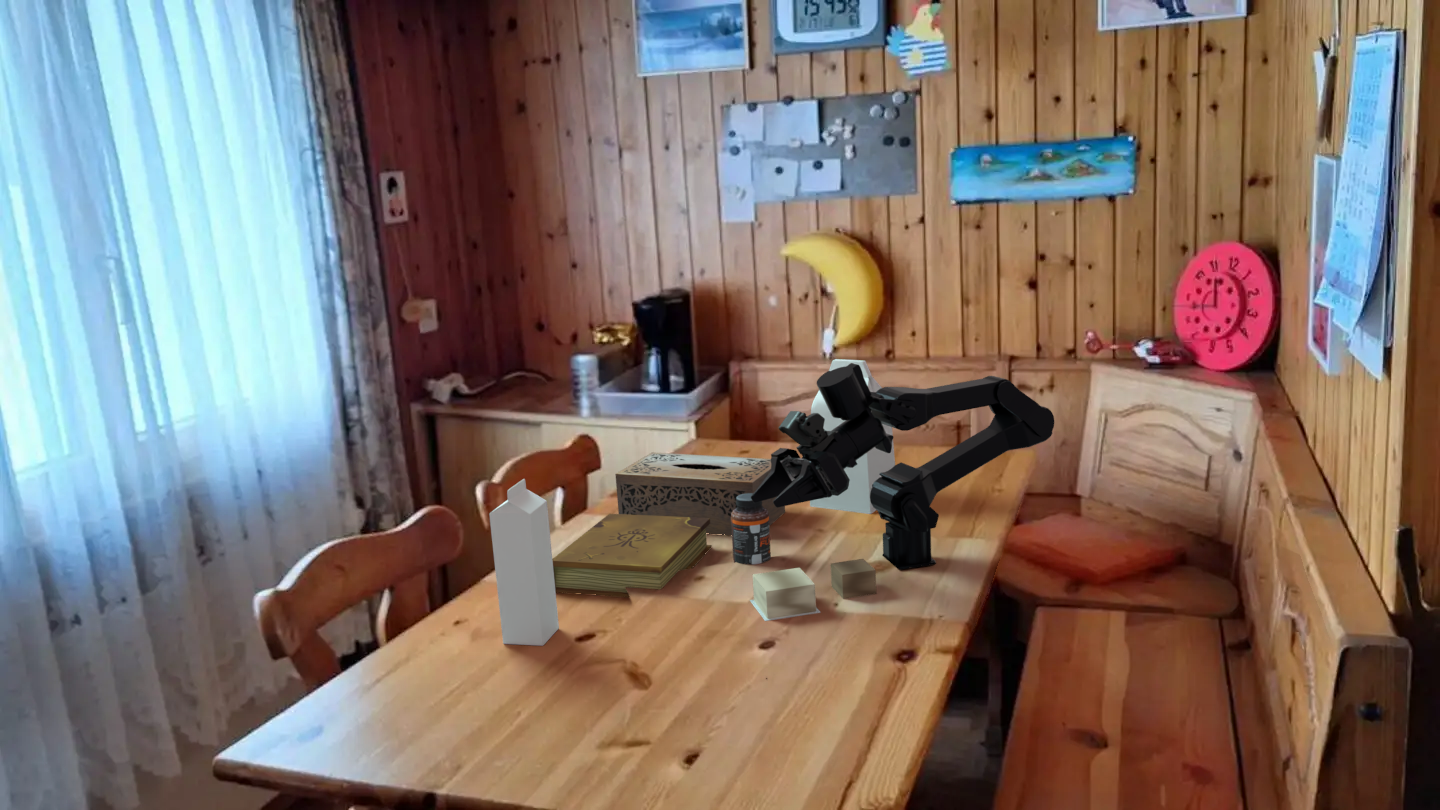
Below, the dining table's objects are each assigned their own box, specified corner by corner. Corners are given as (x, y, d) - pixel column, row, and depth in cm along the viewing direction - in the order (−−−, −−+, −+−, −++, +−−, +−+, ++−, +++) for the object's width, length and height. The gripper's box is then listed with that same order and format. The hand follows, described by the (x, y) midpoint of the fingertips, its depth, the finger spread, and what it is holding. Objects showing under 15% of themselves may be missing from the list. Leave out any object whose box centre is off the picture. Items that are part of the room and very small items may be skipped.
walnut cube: (864, 590, 178) (863, 558, 177) (876, 602, 173) (875, 569, 172) (832, 595, 177) (830, 563, 176) (843, 608, 172) (842, 574, 171)
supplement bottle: (768, 572, 187) (764, 502, 185) (730, 572, 188) (726, 502, 186) (774, 559, 193) (770, 490, 190) (737, 558, 194) (733, 490, 192)
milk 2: (897, 495, 222) (893, 356, 216) (870, 514, 212) (865, 368, 207) (838, 488, 228) (833, 353, 222) (809, 506, 219) (803, 364, 213)
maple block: (800, 593, 174) (799, 567, 173) (816, 611, 168) (814, 584, 167) (754, 600, 173) (752, 574, 172) (767, 618, 166) (765, 591, 165)
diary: (607, 545, 206) (605, 513, 205) (711, 551, 200) (710, 518, 199) (548, 594, 185) (545, 559, 183) (663, 602, 179) (660, 565, 178)
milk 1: (502, 644, 166) (485, 490, 161) (520, 626, 172) (503, 477, 167) (544, 646, 165) (527, 491, 160) (560, 628, 171) (544, 477, 166)
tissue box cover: (785, 513, 216) (782, 459, 214) (755, 539, 203) (752, 482, 201) (655, 504, 226) (652, 452, 224) (619, 528, 214) (615, 473, 211)
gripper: (795, 398, 187) (714, 453, 183) (846, 397, 169) (757, 458, 165) (831, 458, 189) (751, 514, 185) (884, 463, 171) (798, 525, 167)
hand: (763, 502), depth 175 cm, fingers open, 9 cm apart
